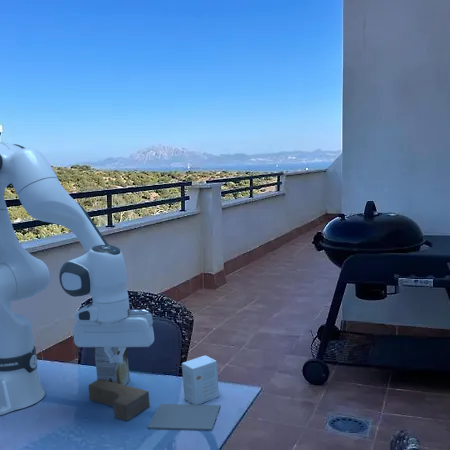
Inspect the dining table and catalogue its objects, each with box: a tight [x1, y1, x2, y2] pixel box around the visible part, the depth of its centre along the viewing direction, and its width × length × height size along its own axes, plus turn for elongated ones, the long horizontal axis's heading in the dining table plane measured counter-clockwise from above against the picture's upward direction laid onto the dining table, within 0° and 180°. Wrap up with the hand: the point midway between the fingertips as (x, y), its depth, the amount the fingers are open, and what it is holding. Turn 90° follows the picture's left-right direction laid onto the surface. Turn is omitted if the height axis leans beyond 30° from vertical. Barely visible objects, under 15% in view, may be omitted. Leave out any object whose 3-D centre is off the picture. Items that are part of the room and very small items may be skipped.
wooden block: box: [88, 379, 150, 422], centre depth 144 cm, size 9×4×18 cm
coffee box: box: [93, 347, 131, 386], centre depth 155 cm, size 9×6×16 cm
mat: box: [147, 403, 221, 431], centre depth 136 cm, size 16×12×1 cm
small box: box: [181, 354, 220, 405], centre depth 145 cm, size 8×6×10 cm
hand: (116, 362), depth 137 cm, fingers closed
